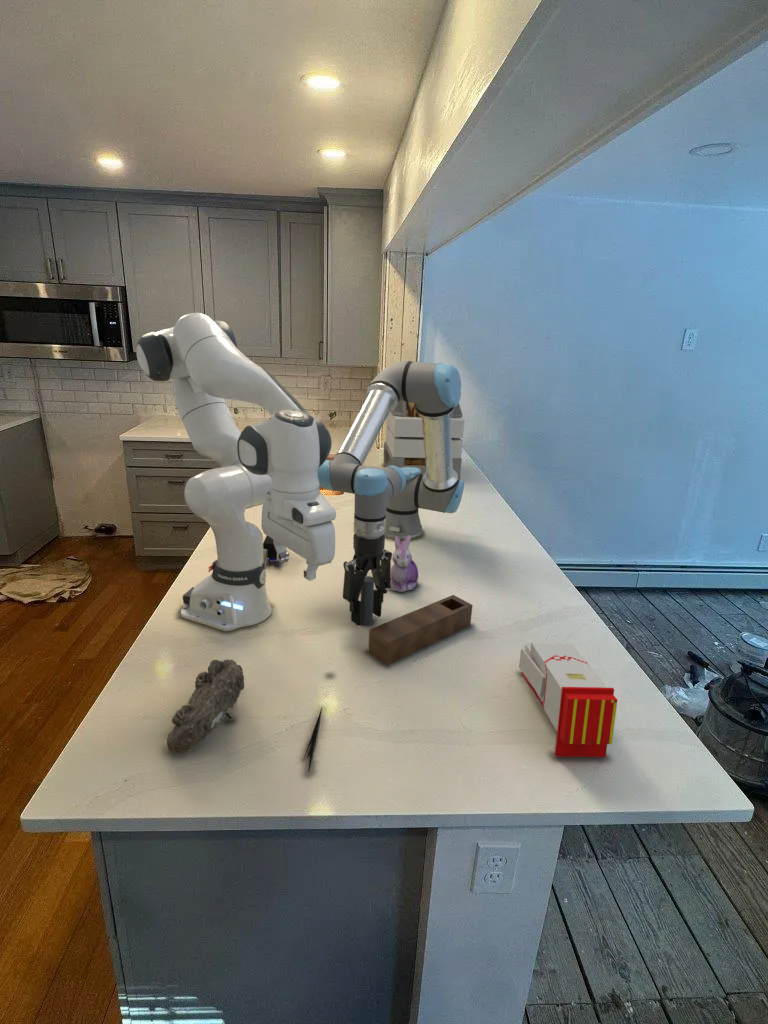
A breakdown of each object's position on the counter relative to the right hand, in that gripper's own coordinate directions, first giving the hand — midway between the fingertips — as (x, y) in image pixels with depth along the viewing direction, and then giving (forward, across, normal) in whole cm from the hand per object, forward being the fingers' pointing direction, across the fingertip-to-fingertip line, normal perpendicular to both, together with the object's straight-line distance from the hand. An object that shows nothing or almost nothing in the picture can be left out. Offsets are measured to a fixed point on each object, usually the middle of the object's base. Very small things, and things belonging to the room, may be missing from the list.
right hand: (366, 618), depth 143 cm
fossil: (+1, -46, -10) cm, 47 cm away
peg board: (+1, +6, -14) cm, 15 cm away
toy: (+1, +10, -49) cm, 50 cm away
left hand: (-26, -28, -12) cm, 40 cm away
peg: (+1, 0, 0) cm, 1 cm away
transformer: (+1, +108, +92) cm, 141 cm away
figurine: (+1, +21, +9) cm, 23 cm away
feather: (+1, -30, -23) cm, 37 cm away
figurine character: (+1, +1, +46) cm, 46 cm away
